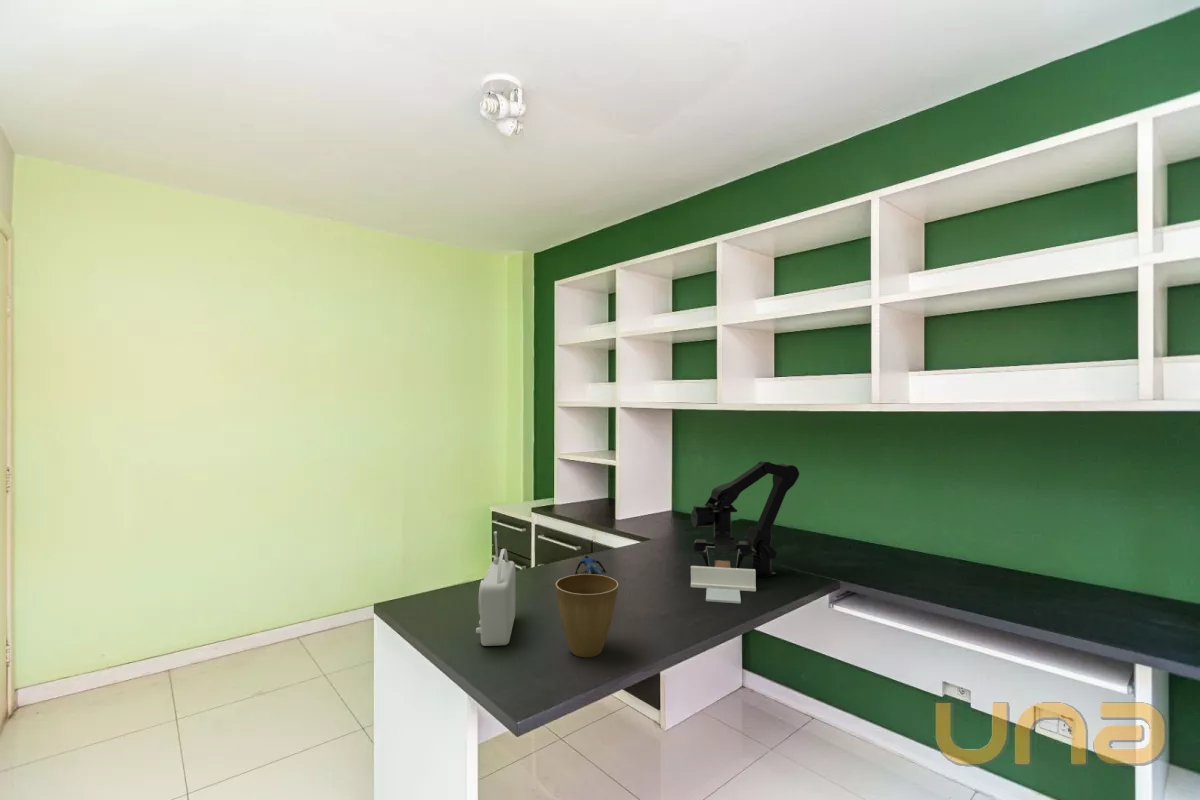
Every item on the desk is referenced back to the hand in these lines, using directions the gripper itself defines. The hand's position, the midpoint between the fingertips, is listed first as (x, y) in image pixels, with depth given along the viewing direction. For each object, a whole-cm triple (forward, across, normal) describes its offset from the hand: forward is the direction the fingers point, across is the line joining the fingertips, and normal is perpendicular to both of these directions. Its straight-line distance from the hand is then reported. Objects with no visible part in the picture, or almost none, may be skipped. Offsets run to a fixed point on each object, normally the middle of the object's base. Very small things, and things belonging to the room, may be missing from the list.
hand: (722, 571), depth 182 cm
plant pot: (+2, -32, -62) cm, 69 cm away
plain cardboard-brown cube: (+2, 0, 0) cm, 2 cm away
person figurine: (+2, -44, -7) cm, 44 cm away
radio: (+2, -57, -56) cm, 80 cm away
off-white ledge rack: (+2, 0, -10) cm, 10 cm away
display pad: (+2, 0, -18) cm, 19 cm away
